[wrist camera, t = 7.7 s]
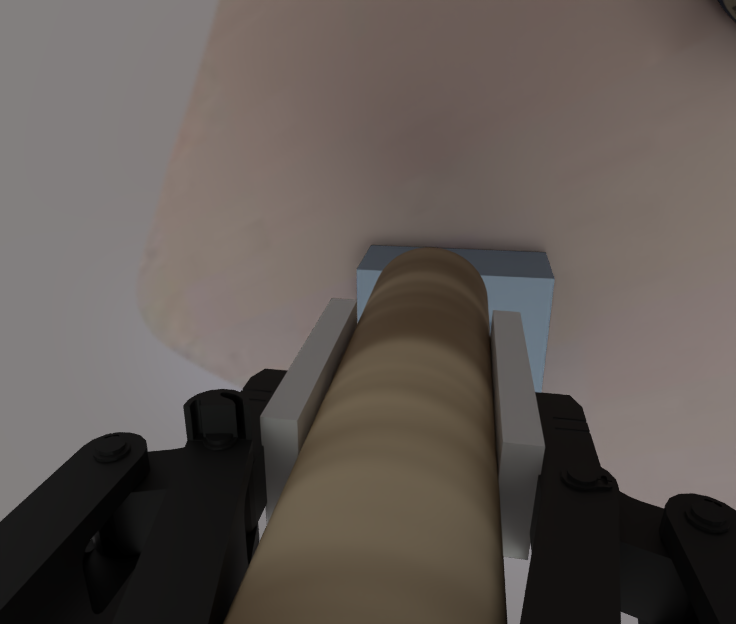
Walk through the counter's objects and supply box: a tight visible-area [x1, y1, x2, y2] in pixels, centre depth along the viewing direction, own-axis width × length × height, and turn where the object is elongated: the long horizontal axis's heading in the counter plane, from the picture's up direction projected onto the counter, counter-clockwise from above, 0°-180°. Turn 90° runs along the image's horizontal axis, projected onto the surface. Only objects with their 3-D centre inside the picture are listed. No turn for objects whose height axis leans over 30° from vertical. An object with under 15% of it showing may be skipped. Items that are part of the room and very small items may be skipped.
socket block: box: [357, 245, 555, 393], centre depth 38 cm, size 11×11×5 cm
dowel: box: [223, 247, 507, 624], centre depth 14 cm, size 4×4×15 cm
